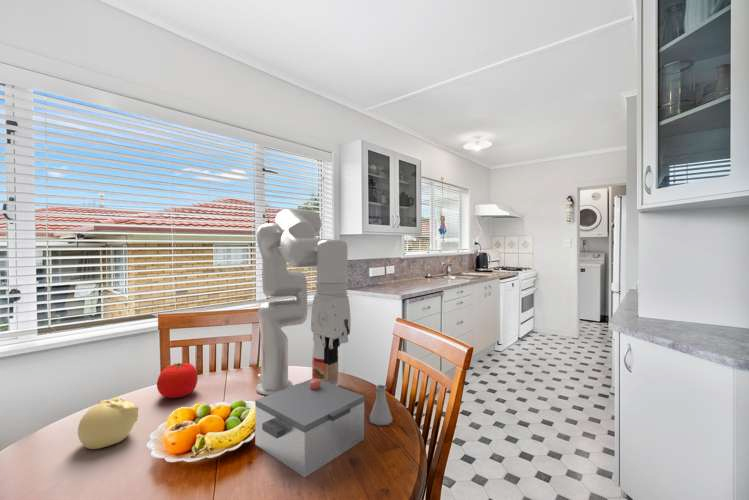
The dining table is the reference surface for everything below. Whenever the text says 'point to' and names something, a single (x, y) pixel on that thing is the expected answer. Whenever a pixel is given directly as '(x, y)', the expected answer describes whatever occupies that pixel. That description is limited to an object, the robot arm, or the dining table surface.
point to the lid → (310, 403)
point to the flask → (380, 408)
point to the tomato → (177, 380)
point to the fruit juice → (322, 364)
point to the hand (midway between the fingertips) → (330, 362)
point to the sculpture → (107, 423)
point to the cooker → (308, 439)
